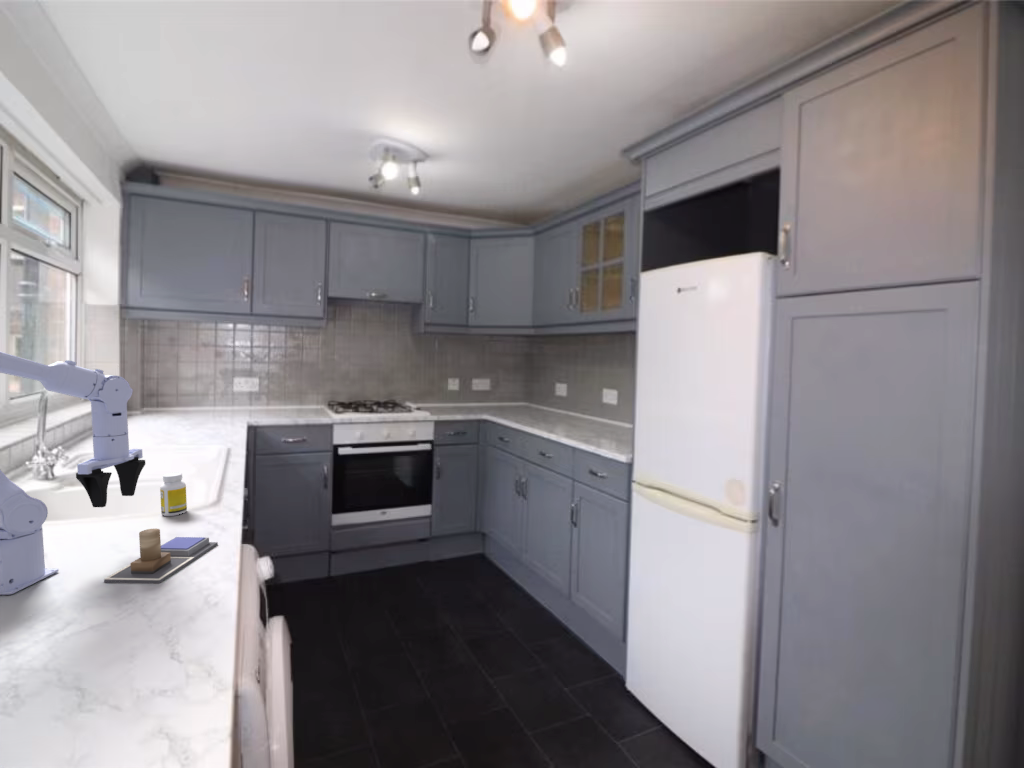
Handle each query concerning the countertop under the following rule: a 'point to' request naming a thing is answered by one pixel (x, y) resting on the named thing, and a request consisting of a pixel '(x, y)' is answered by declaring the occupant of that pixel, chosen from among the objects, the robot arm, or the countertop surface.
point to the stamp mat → (181, 555)
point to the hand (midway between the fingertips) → (114, 500)
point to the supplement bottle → (173, 495)
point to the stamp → (150, 553)
